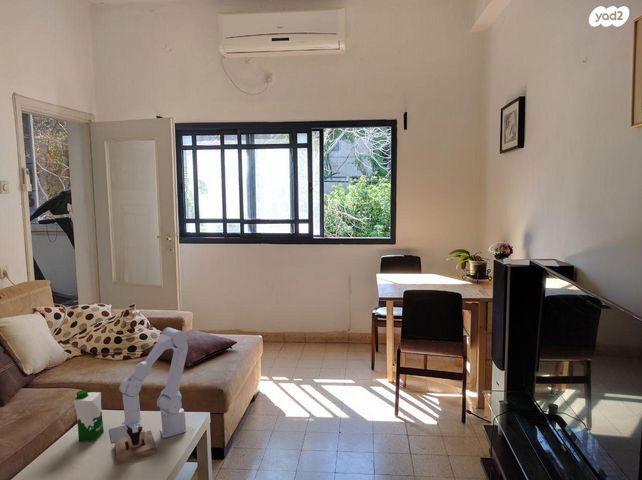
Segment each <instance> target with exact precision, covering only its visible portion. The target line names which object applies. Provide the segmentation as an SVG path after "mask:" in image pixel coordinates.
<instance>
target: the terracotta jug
mask: <svg viewBox="0 0 642 480" xmlns="http://www.w3.org/2000/svg"><path fill="white" fill-rule="evenodd" d="M145 432H146V431H145V429H142V431H141V434H140V439H139V444H138V445H134V446H133V444H132V441H131V438H130V436H129V435H128V433H127V436H128V447H127V448H128V450H131V449H134V448H138V447H141V446H143V443H142V439H145ZM141 437H142V438H141Z"/></svg>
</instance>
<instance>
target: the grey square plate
mask: <svg viewBox="0 0 642 480" xmlns="http://www.w3.org/2000/svg"><path fill="white" fill-rule="evenodd" d="M138 427H141V423H140V424H139V426H138ZM127 429H128V428H127V426H126V425H125V424H124V425H121V426H117V427H112V428H109V435H110V436H109V437H110V441H111V444H115V442H114V440H118V439H121V438H125V437H128V436H127Z"/></svg>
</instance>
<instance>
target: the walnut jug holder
mask: <svg viewBox="0 0 642 480" xmlns="http://www.w3.org/2000/svg"><path fill="white" fill-rule="evenodd" d="M141 438H142V437H141ZM114 442H115V443H114V447H115V455H116V460H117V465H121V464H123V463H127V462H131V461H134V460H137V459H141V458H144V457H147V456H148V457H149V456H152V455H153V454H154V455H155V454H157V453H158V452H157V449H158V448H157V445H156V441H155V438H154V435H153V432H152V430H148V431H147V430H146V431H145V439H142V444H144V445H142V446H141V447H138V448H134V449H131V450H129V449H128V450H127V448H129V447H128V437H125V438H121V439H118V440H114Z"/></svg>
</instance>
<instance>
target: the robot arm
mask: <svg viewBox="0 0 642 480" xmlns="http://www.w3.org/2000/svg"><path fill="white" fill-rule="evenodd" d="M188 338H189V336H188V335H187V334H186V333H185V332H184V331H182V330H177V329H175V328H173V327H166V328H164V329H163V330H162V332H161V333H160V334H159V336H158V339H157V342H155V345H154V346H153V348H152V349H151V350H150V351H149V353H148V355H147V356H146V358H145V360H143V361H140V362H138V363H137V364H136V365H135V367H134V369H133V370H132V372H131V373H130V374H129V375H128V376H127V378H125V379H123V380H122V382H121V383H120V385H119V387H118V390H119V391H120V392H121V393H122V403H123V413H124V414H123V415H124V419H123V420H122V421H121V424H122V425H121V426H123V425H126V426H127V428H128V429H127V433H128V435H129V436H130V438H131V441H132V444H133V446H134V445H138V444H139V439H140V434H141V431H142V430H143V426H141V421H142V417H141V416H142V415H141V407H140V397H139V393H140V392H141V390H142V385H143V383H144V382H145V380H146V378H147V377H148V376H149V375H150V373H151V372H152V370H153V369H152V366H153V365H154V363H155V362H156V361H157V359H159V358H160V356H161V355H162V354H163V353H164V351H166V350H170V349H172V350H173V354H172V358H171V363H170V368H169V372H168V374H167V375H168V377H167V380H166V385H165V388H164V389H162V390H161V392H160V395H159V397H158V398H157V401H156V405H157V407H158V409H160V410H159V411H160V417H161V428H160V429H159V431H160V433H161V436H162V438H163V439H165V438H170V437H173V436H177V435H179V434H182V433H186V432H187V427H186V426H187V424H186V415H185V410H184V408H183V407H182V396H183V395H182V394H181V392H180V386H181V381H182V377H183V372H184V368H185V363H186V359H187V355H188V351H189V346H188ZM139 424H140V426H141V427H138V426H139Z"/></svg>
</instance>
